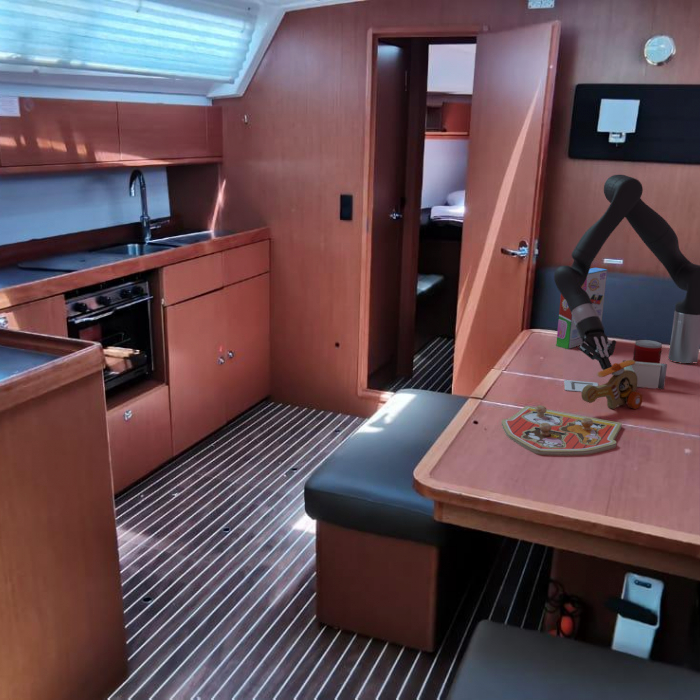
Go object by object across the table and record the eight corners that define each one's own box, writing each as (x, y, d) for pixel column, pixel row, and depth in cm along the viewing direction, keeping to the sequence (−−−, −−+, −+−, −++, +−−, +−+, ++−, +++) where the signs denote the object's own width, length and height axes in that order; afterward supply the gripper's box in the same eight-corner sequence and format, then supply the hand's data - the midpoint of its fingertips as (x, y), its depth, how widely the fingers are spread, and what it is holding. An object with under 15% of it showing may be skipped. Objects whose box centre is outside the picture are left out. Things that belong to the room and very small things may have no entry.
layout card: (564, 380, 230) (564, 379, 230) (597, 383, 228) (597, 382, 228) (564, 390, 221) (564, 389, 221) (599, 393, 218) (599, 392, 218)
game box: (587, 337, 282) (595, 267, 275) (600, 340, 278) (608, 269, 271) (555, 346, 269) (562, 272, 262) (568, 349, 265) (575, 274, 258)
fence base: (619, 383, 228) (622, 360, 226) (663, 387, 225) (666, 363, 223) (620, 385, 226) (622, 361, 224) (664, 389, 223) (667, 365, 221)
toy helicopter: (644, 407, 208) (651, 360, 204) (593, 420, 197) (599, 371, 194) (621, 398, 214) (626, 353, 211) (570, 410, 204) (575, 363, 200)
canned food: (661, 380, 232) (666, 346, 229) (636, 379, 232) (640, 345, 229) (652, 372, 240) (656, 340, 237) (627, 372, 240) (631, 339, 237)
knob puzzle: (627, 429, 193) (629, 413, 191) (602, 470, 168) (604, 452, 167) (518, 408, 207) (519, 393, 205) (481, 444, 182) (482, 427, 181)
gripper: (575, 316, 226) (596, 365, 218) (611, 313, 230) (632, 362, 222) (563, 329, 232) (583, 377, 224) (598, 326, 236) (619, 373, 229)
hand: (608, 369), depth 223 cm, fingers closed
